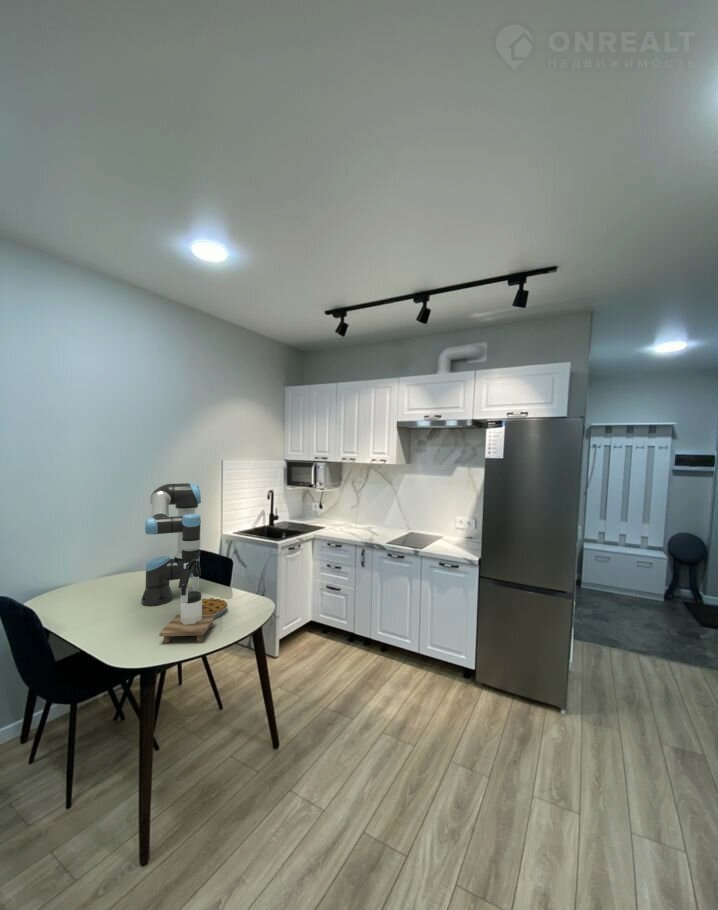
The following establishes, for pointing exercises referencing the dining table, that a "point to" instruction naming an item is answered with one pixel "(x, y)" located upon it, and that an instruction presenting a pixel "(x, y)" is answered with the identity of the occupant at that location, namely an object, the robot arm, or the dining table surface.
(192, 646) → the dining table surface
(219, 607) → the pie
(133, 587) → the dining table surface
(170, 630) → the wooden serving stand
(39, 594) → the dining table surface
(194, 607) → the jar
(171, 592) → the robot arm
